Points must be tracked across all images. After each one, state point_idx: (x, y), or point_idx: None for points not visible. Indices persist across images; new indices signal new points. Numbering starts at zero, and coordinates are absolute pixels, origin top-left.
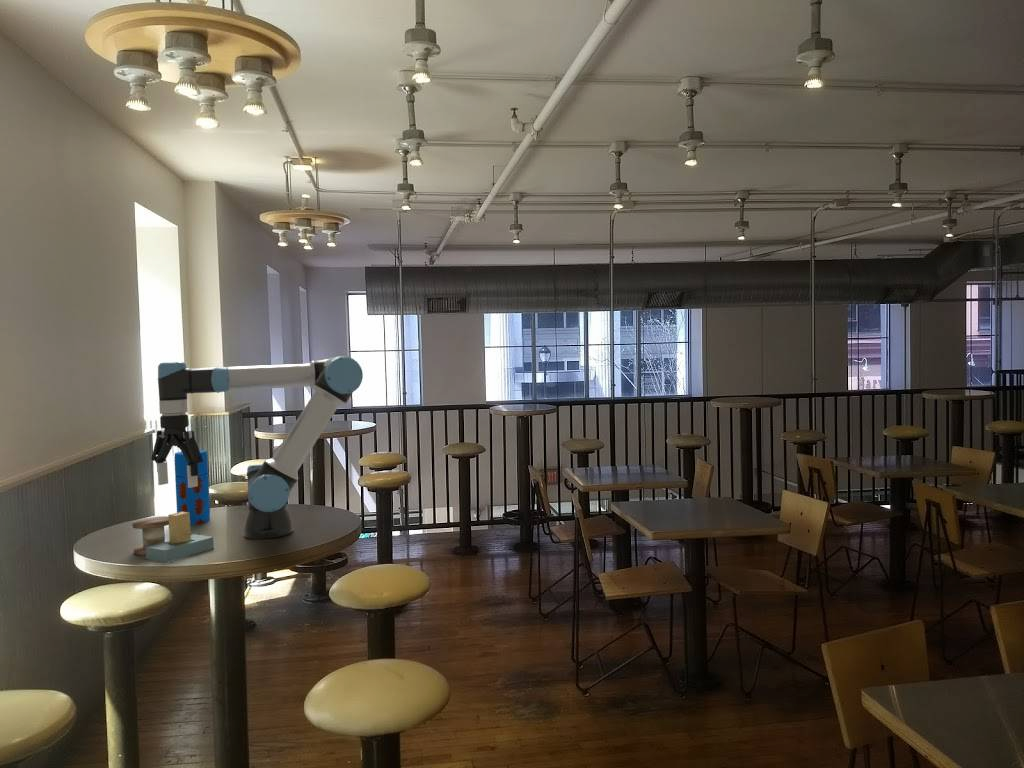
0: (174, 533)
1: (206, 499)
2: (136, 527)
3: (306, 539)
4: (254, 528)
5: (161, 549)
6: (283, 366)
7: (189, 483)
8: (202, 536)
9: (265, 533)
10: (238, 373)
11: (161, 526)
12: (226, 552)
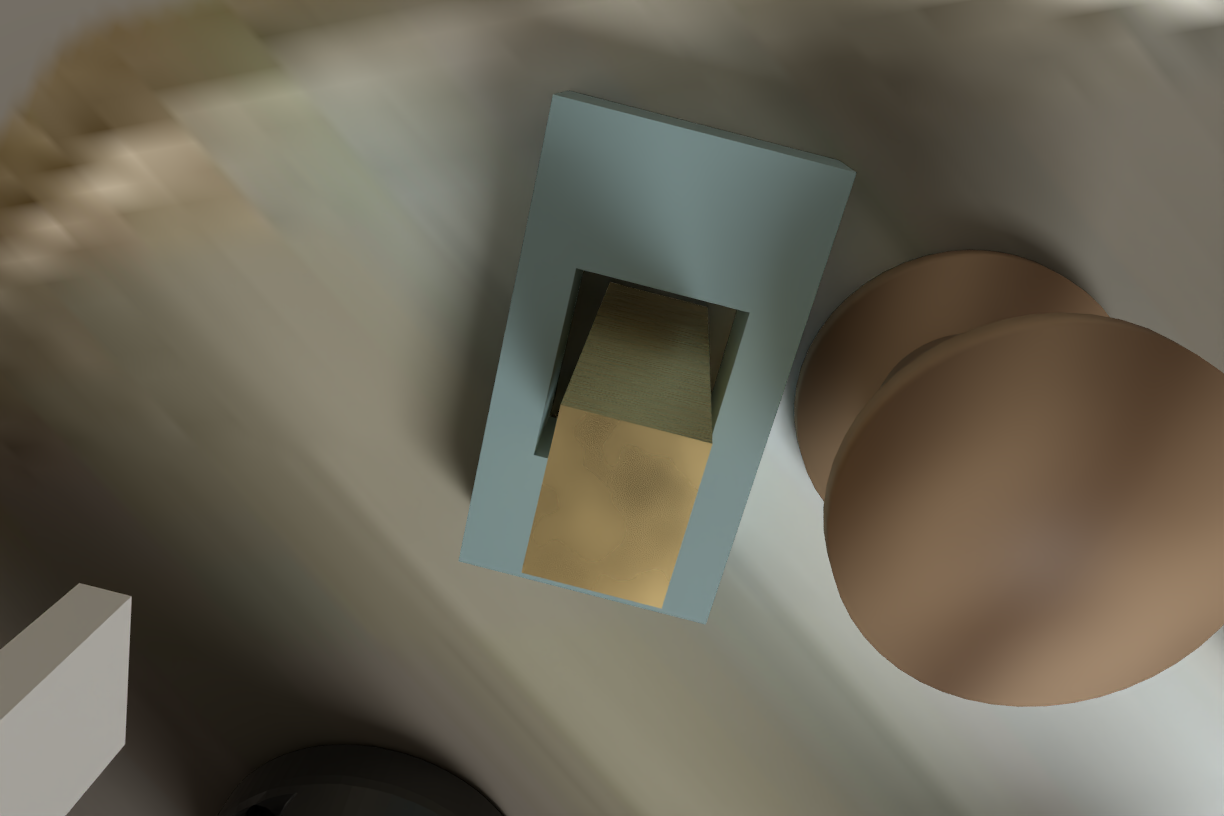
0: (625, 346)
1: None
2: (1115, 321)
3: None
4: (334, 809)
5: (617, 117)
6: None
7: (15, 638)
8: None
9: (266, 782)
10: None
11: (849, 430)
12: (297, 431)
